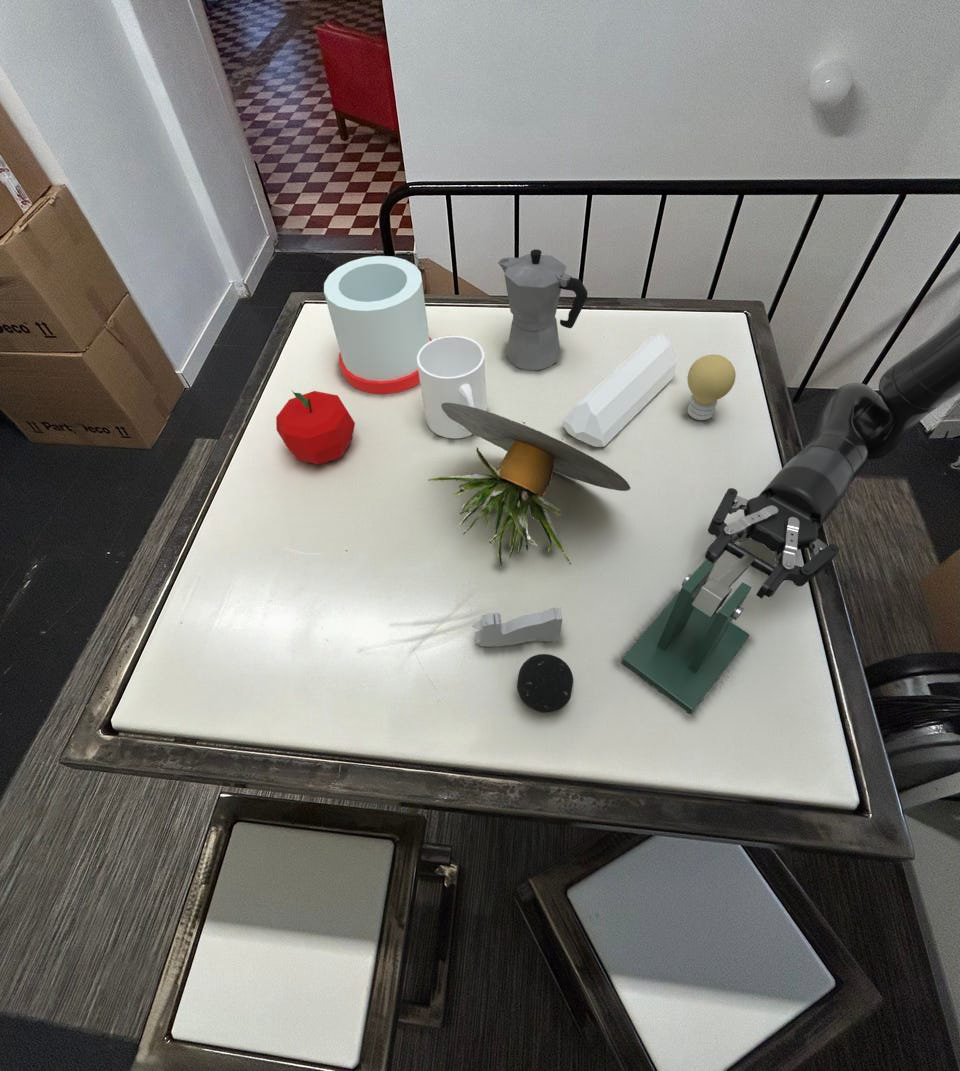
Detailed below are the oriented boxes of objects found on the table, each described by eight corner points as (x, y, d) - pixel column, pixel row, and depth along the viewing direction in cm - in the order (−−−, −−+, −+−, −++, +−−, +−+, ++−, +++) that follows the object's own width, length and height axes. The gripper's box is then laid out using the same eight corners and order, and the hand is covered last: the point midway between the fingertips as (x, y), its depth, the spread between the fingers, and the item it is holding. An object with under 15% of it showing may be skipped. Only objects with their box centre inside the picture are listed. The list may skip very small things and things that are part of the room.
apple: (373, 443, 92) (359, 391, 84) (319, 485, 87) (299, 434, 79) (326, 414, 96) (309, 361, 88) (273, 452, 92) (250, 401, 84)
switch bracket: (679, 594, 74) (708, 525, 63) (747, 639, 70) (790, 573, 59) (620, 662, 69) (641, 600, 58) (690, 714, 65) (726, 658, 54)
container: (455, 354, 104) (447, 273, 92) (392, 407, 97) (375, 326, 85) (385, 323, 110) (370, 243, 98) (321, 370, 103) (297, 290, 91)
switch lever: (724, 551, 70) (734, 534, 69) (768, 578, 68) (780, 561, 66) (676, 595, 61) (686, 577, 60) (726, 628, 59) (738, 610, 57)
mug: (461, 390, 98) (456, 327, 89) (510, 429, 92) (510, 366, 83) (414, 417, 95) (403, 355, 86) (461, 459, 89) (455, 397, 80)
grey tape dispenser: (558, 642, 71) (473, 649, 71) (557, 631, 72) (472, 638, 72) (562, 618, 67) (471, 625, 66) (560, 607, 67) (470, 614, 67)
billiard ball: (522, 664, 70) (522, 640, 65) (574, 674, 69) (579, 650, 64) (511, 714, 66) (511, 693, 61) (567, 725, 65) (571, 705, 60)
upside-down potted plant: (435, 509, 93) (354, 513, 69) (485, 403, 90) (419, 368, 66) (581, 590, 87) (548, 624, 63) (641, 479, 84) (629, 471, 60)
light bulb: (689, 432, 90) (706, 378, 82) (670, 405, 94) (685, 350, 86) (729, 423, 91) (749, 369, 83) (708, 396, 95) (726, 341, 87)
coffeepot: (484, 356, 103) (480, 253, 89) (515, 327, 108) (515, 225, 93) (564, 388, 98) (573, 283, 83) (592, 356, 102) (606, 252, 87)
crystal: (609, 445, 84) (696, 357, 94) (574, 406, 84) (665, 322, 94) (582, 464, 91) (666, 381, 101) (550, 429, 91) (637, 348, 101)
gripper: (761, 440, 74) (685, 521, 67) (880, 500, 68) (811, 597, 61) (741, 482, 80) (670, 560, 73) (850, 541, 74) (784, 633, 67)
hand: (735, 576), depth 67 cm, fingers closed on switch lever, 5 cm apart
